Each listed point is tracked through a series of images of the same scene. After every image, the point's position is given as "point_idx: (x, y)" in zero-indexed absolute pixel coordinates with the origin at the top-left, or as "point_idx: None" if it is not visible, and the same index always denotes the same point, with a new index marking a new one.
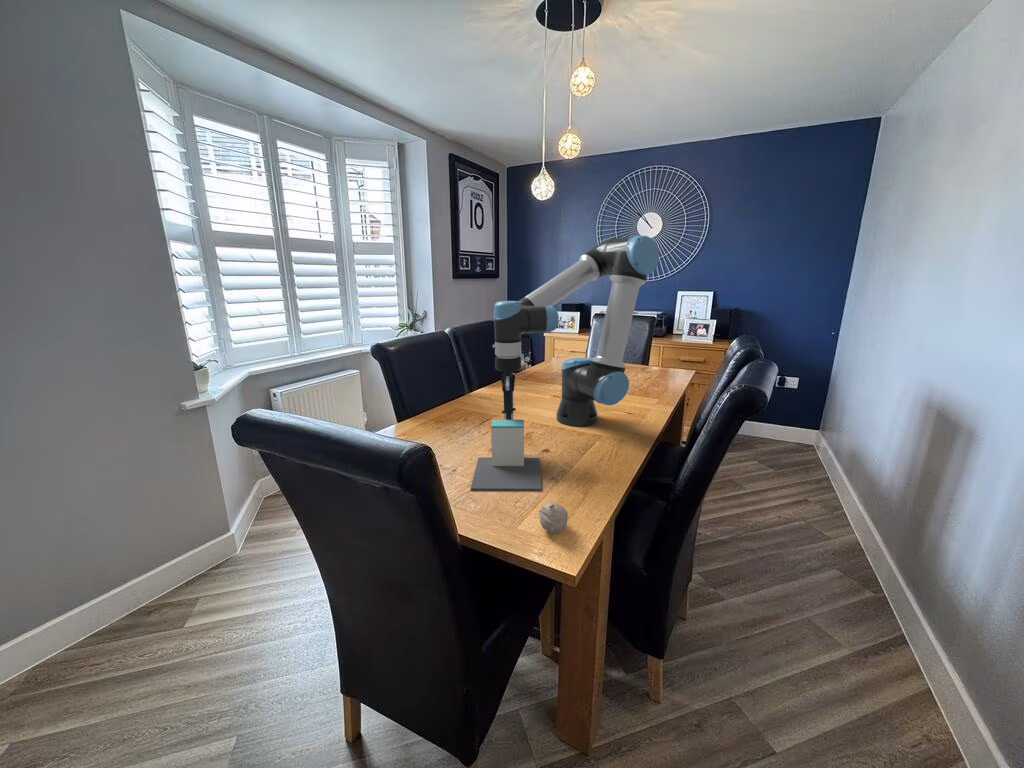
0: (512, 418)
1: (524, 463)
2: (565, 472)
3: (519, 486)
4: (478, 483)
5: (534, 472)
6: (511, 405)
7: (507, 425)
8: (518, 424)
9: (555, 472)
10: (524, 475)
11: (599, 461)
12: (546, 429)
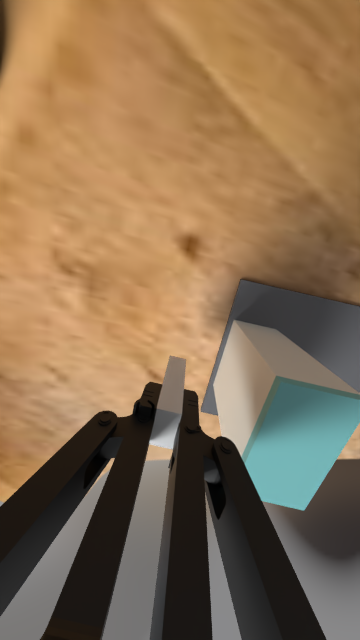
0: (182, 397)
1: (263, 325)
2: (339, 228)
3: None
4: None
5: (319, 312)
6: (261, 508)
7: (326, 460)
8: (337, 418)
9: (327, 256)
10: (324, 338)
11: (317, 77)
12: (31, 199)
